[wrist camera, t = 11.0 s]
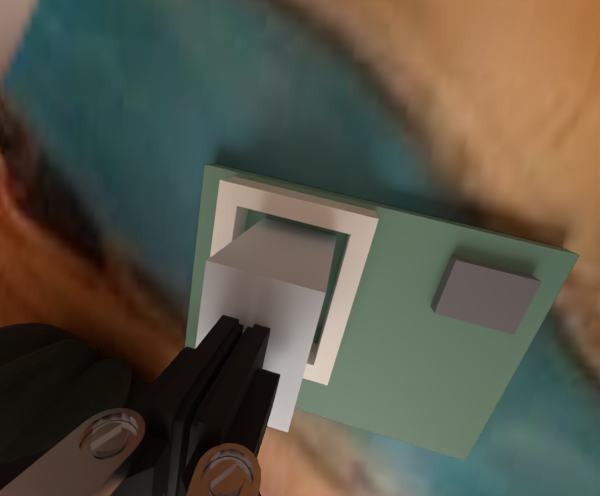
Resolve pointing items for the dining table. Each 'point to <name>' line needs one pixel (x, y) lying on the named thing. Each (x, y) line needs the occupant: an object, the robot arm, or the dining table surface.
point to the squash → (54, 387)
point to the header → (315, 211)
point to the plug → (272, 297)
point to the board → (416, 319)
